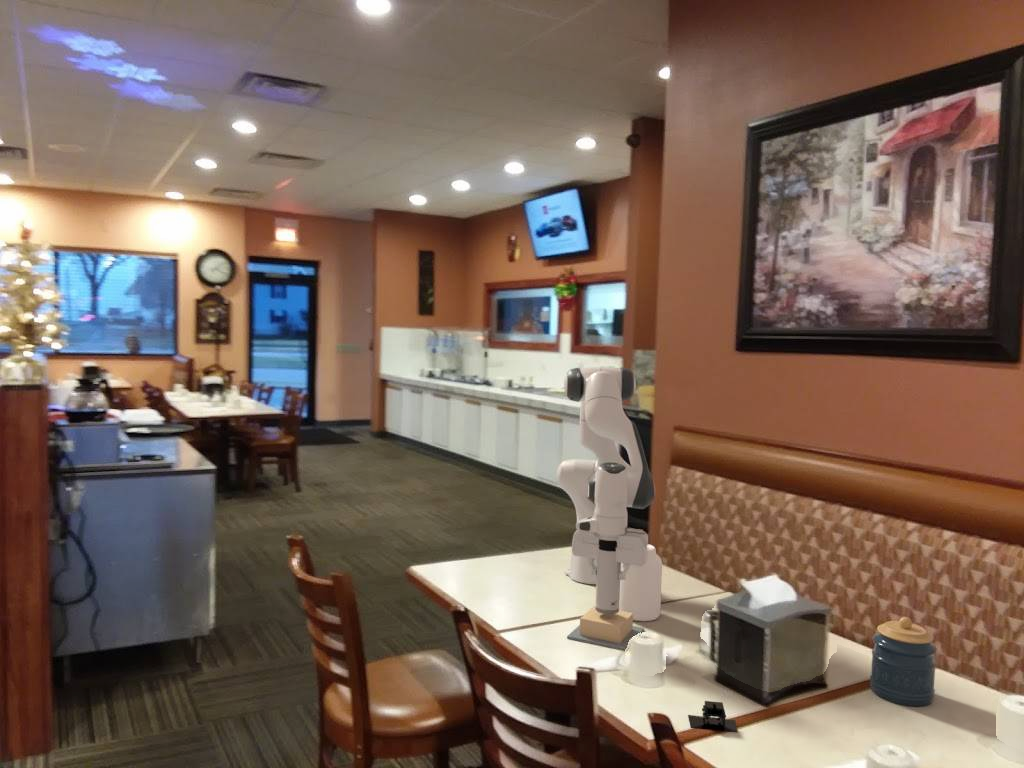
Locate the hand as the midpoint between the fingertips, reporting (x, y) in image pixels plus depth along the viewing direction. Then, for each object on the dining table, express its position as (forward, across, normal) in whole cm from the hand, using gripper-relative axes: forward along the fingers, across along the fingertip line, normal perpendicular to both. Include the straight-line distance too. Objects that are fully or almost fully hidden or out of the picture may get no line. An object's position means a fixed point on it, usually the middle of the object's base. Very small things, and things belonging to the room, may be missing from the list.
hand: (608, 576), depth 203 cm
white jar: (+16, -3, -19) cm, 25 cm away
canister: (+16, -70, 0) cm, 72 cm away
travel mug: (+9, 0, 0) cm, 9 cm away
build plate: (+16, -35, +35) cm, 52 cm away
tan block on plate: (+15, 0, 0) cm, 15 cm away
